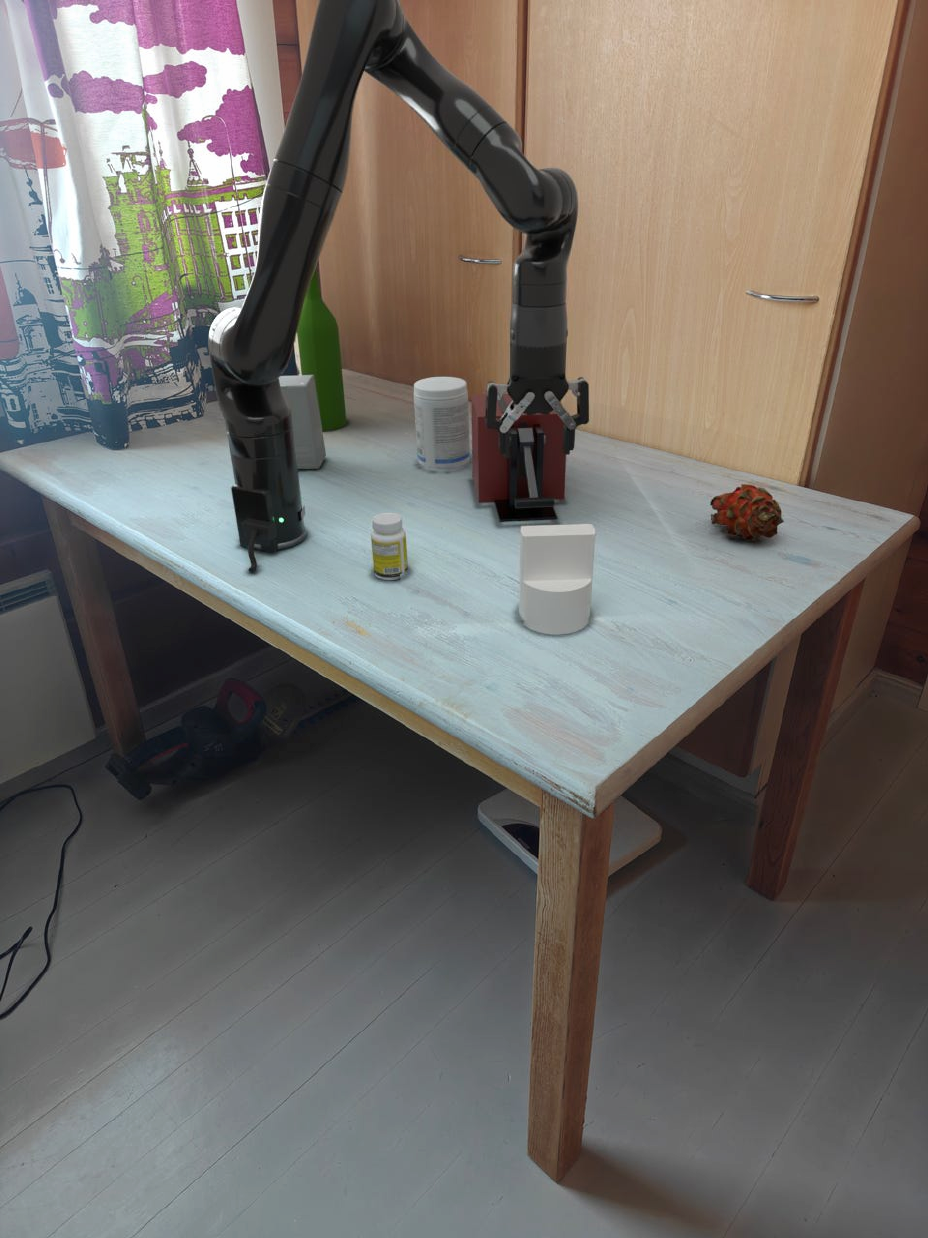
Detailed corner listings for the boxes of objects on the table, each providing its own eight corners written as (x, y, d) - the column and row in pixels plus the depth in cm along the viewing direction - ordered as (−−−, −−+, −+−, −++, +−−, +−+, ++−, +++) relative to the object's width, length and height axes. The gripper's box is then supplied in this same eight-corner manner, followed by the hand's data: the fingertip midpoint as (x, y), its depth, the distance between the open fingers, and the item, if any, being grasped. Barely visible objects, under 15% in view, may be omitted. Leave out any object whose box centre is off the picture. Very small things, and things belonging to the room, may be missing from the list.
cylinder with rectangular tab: (584, 598, 115) (589, 514, 109) (595, 633, 108) (601, 545, 102) (515, 600, 115) (517, 516, 109) (522, 635, 107) (523, 547, 101)
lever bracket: (557, 524, 136) (560, 438, 129) (499, 526, 135) (499, 440, 128) (547, 499, 145) (549, 417, 138) (492, 501, 144) (492, 419, 137)
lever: (553, 510, 129) (555, 500, 127) (515, 512, 128) (516, 501, 126) (541, 437, 136) (543, 427, 134) (505, 439, 136) (506, 428, 133)
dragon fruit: (774, 562, 127) (708, 545, 136) (805, 517, 128) (738, 503, 138) (754, 525, 122) (686, 510, 131) (786, 479, 123) (717, 467, 132)
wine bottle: (300, 420, 184) (280, 253, 167) (342, 415, 186) (327, 250, 169) (306, 433, 176) (287, 260, 160) (350, 428, 179) (335, 257, 162)
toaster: (564, 503, 143) (568, 412, 135) (478, 507, 142) (477, 416, 134) (552, 476, 153) (555, 391, 146) (472, 480, 152) (471, 394, 145)
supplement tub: (477, 458, 162) (477, 378, 155) (457, 475, 155) (455, 392, 147) (430, 452, 165) (427, 373, 158) (408, 468, 158) (403, 387, 151)
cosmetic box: (326, 458, 163) (318, 373, 155) (317, 472, 157) (308, 384, 149) (282, 457, 164) (271, 372, 156) (271, 471, 158) (259, 383, 150)
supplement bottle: (390, 562, 125) (387, 508, 121) (415, 571, 123) (412, 516, 119) (366, 574, 122) (362, 519, 118) (391, 584, 120) (387, 528, 115)
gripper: (585, 329, 120) (580, 443, 128) (482, 333, 119) (483, 448, 127) (597, 342, 113) (591, 461, 122) (488, 346, 113) (489, 466, 121)
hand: (536, 454), depth 124 cm, fingers open, 8 cm apart
